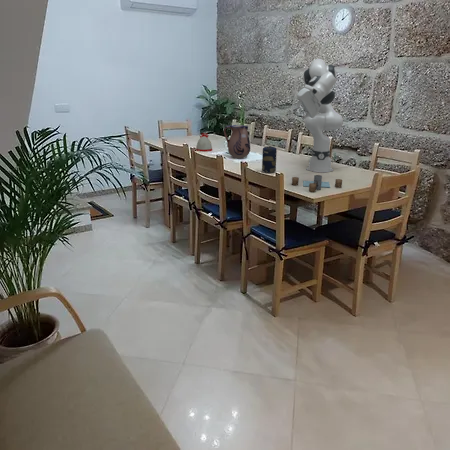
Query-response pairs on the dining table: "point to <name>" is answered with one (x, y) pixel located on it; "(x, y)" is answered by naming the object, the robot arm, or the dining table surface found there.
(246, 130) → the ceramic pitcher
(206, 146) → the bell with red bow
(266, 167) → the canister
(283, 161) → the dining table surface
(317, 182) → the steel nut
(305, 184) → the pad
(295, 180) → the spacer posts
